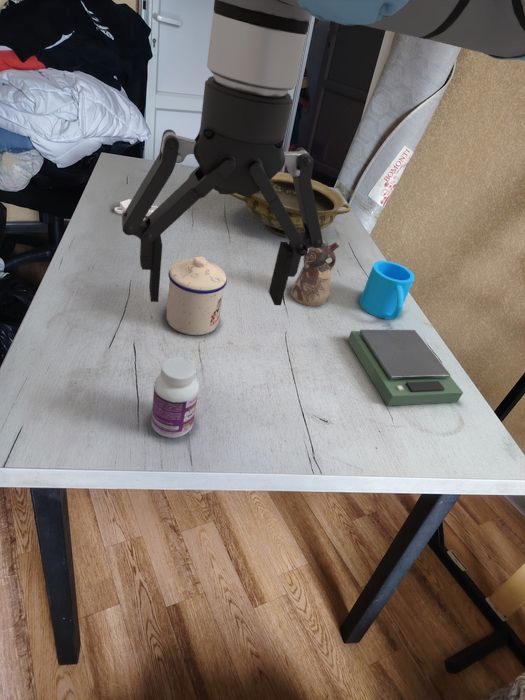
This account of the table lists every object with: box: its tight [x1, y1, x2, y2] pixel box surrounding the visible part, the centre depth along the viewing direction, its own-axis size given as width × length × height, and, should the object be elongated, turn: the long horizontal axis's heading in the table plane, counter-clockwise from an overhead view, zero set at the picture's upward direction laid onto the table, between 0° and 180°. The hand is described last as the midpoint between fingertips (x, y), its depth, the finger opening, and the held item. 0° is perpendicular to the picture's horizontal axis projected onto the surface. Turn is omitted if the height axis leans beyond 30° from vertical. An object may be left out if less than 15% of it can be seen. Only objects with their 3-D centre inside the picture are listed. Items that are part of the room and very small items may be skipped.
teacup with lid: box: [166, 255, 228, 336], centre depth 77 cm, size 12×9×12 cm
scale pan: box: [359, 329, 451, 380], centre depth 79 cm, size 12×11×1 cm
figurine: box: [290, 238, 340, 307], centre depth 90 cm, size 7×7×12 cm
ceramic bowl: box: [229, 171, 352, 237], centre depth 114 cm, size 30×24×10 cm
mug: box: [359, 260, 415, 321], centre depth 92 cm, size 12×8×8 cm
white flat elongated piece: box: [114, 199, 159, 217], centre depth 108 cm, size 13×5×2 cm, turn 94°
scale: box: [347, 330, 464, 407], centre depth 80 cm, size 16×13×3 cm
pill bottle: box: [150, 356, 200, 439], centre depth 59 cm, size 5×5×10 cm
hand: (216, 297), depth 53 cm, fingers open, 13 cm apart
